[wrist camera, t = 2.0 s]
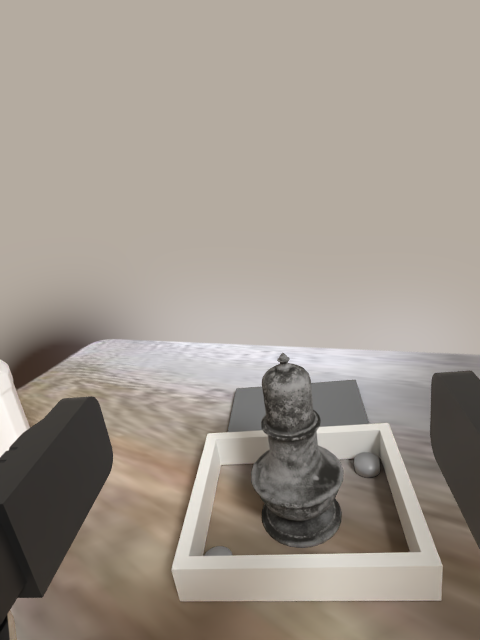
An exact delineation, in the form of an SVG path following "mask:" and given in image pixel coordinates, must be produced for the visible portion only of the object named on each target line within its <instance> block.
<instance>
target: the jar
mask: <svg viewBox="0 0 480 640" xmlns="http://www.w3.org/2000/svg"><path fill="white" fill-rule="evenodd" d="M29 428H30V426H29V424H28V421H27V418H26V416H25V413H24V410H23V408H22V405H21V402H20V400H19V397H18V394H17V392H16V389H15V386H14V384H13V377H12V374H11V372H10V369H9V367H8V365H7V364H6V363H5V362H4V361H2V360H0V457H1V456H2V455H3V454H4V453H5V452H6V451H9V447H10V446H11V445H12V444H13V443H14V442H15V441H16V440H17V439H18V438H19V436H20V435H21V434H22V433H23V432H25V431H26V430H28V429H29Z"/></svg>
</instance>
